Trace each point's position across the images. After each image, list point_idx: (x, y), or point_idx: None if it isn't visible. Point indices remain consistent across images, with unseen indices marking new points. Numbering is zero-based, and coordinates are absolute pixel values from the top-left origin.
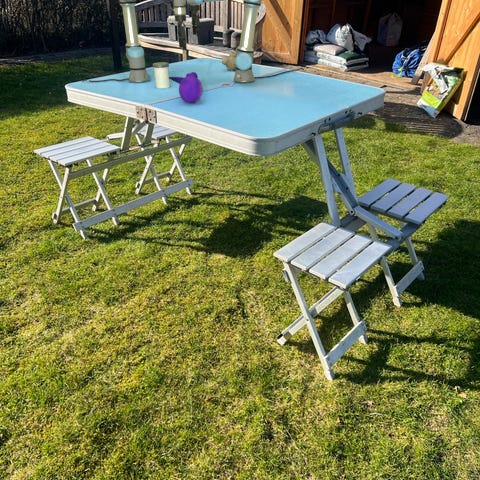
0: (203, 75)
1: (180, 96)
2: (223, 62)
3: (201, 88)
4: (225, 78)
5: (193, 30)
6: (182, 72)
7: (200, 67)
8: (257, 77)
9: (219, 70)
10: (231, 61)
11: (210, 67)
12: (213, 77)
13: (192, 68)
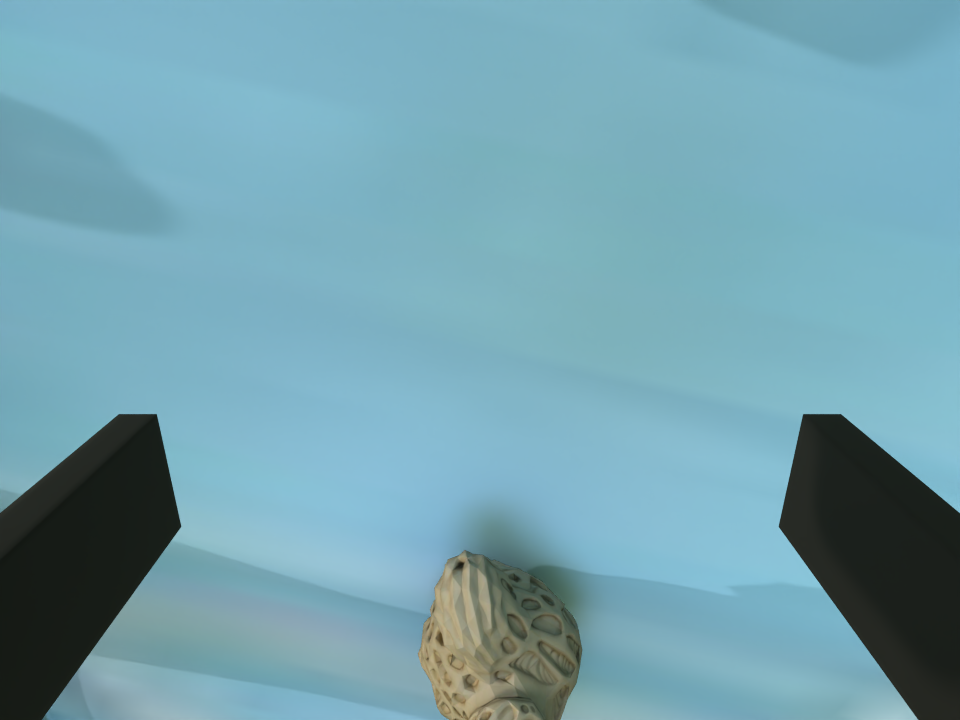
0: (318, 253)
1: None
2: (445, 570)
3: None
4: (76, 431)
5: (891, 533)
6: (646, 21)
7: (873, 342)
8: None
9: (560, 486)
10: (428, 652)
11: None
12: (160, 332)
13: (869, 230)
